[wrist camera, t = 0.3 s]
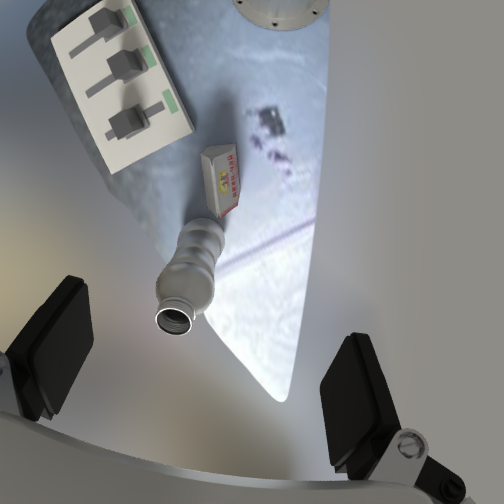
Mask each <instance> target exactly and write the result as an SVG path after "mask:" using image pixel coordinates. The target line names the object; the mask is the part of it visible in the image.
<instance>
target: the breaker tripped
mask: <svg viewBox="0 0 504 504" xmlns="http://www.w3.org/2000/svg"><path fill="white" fill-rule="evenodd" d="M108 121H109V123H110V125H111V127H112V129H113V131H114V133H115V135H116V137H117V139H118V140H120V139H123V138H125V137H126V139H127V140H128V139H129V138H131V137H133V136H135V135H136V134H138V133H140V132H142V131H144V130H146V129H147V128H149V127H150V126H149V124H148V122H147V120H146V118H145V116H144V114H143V112H142V109H141V107H140V105H139V104H137V105H135V106H133V107H131V108H130V109H125V110H122V111H121V112H119V113H117V114H116V115H114V116H113V117H111V118H109V119H108Z"/></svg>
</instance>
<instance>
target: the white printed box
mask: <svg viewBox="0 0 504 504" xmlns="http://www.w3.org/2000/svg"><path fill="white" fill-rule="evenodd" d="M200 156H201V163H202V171H203V179H204V186H205V194H206V201H207V208H208V209H209V210H210V211H211V212H213V213H214V214H215V216H216V217H217V219H218V213H219V216H220V219H221V218H222V217H223V216H224V215H225V214H226V213H228V212H229V211H230V210H232V209H233V208H235V207H236V206H238V201H239V195H240V183H239V173H238V163H237V153H236V143H233V144H223V145H213V146H208V147H207V148H206V149H205V150H204V151H203V152H202V153H201V154H200Z"/></svg>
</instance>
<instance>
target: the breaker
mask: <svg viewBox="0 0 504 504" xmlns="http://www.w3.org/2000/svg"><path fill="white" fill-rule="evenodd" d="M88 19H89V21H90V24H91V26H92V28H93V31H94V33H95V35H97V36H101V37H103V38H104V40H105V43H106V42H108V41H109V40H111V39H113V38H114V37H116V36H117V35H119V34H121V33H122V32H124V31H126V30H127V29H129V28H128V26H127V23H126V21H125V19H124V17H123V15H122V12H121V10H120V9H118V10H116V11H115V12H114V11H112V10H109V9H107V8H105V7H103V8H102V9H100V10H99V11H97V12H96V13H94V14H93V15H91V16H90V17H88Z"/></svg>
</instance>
